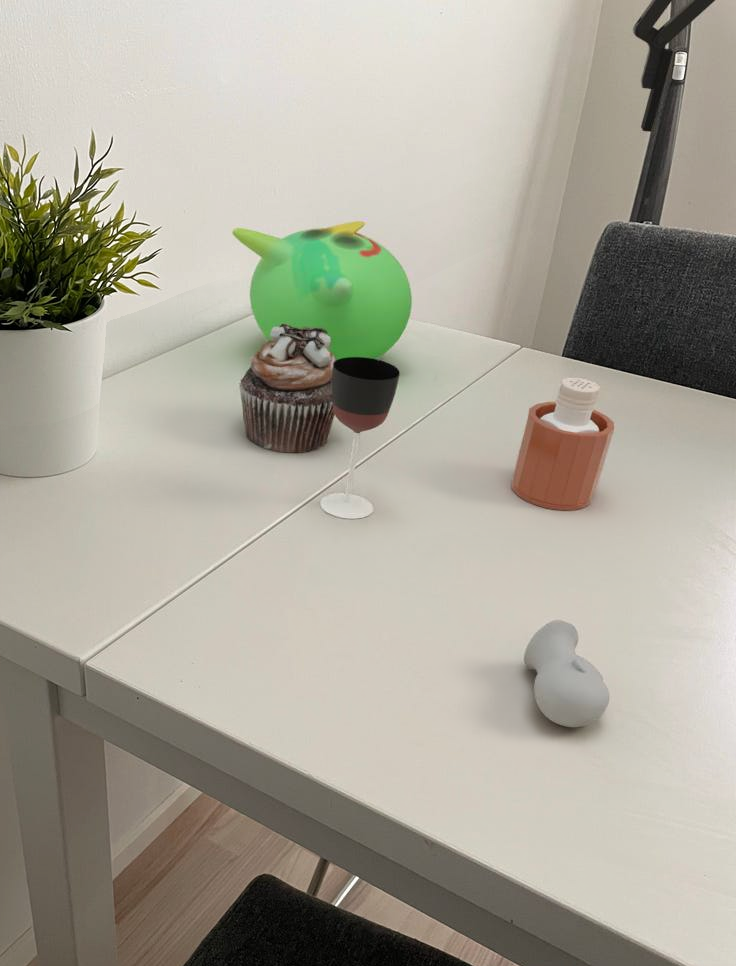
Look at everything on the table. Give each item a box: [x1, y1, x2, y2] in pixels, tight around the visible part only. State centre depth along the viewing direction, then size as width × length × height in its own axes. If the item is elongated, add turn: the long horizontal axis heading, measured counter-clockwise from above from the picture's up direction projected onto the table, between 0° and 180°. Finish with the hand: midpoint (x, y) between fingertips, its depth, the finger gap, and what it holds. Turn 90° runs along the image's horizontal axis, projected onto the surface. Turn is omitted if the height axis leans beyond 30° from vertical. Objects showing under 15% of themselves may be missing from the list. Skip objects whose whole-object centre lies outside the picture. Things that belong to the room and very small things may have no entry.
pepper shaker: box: [540, 377, 601, 433], centre depth 87 cm, size 4×4×10 cm
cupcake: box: [238, 324, 336, 454], centre depth 92 cm, size 10×10×10 cm
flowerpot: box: [510, 401, 615, 511], centre depth 88 cm, size 7×7×7 cm
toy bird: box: [232, 221, 413, 360], centre depth 108 cm, size 18×17×15 cm
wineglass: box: [319, 357, 401, 520], centre depth 81 cm, size 5×5×12 cm
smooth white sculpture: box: [523, 619, 610, 728], centre depth 64 cm, size 4×8×5 cm
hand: (720, 138), depth 93 cm, fingers open, 13 cm apart
